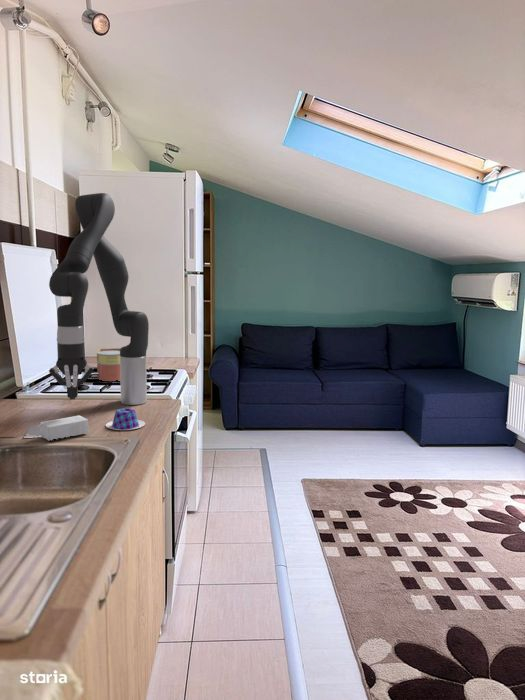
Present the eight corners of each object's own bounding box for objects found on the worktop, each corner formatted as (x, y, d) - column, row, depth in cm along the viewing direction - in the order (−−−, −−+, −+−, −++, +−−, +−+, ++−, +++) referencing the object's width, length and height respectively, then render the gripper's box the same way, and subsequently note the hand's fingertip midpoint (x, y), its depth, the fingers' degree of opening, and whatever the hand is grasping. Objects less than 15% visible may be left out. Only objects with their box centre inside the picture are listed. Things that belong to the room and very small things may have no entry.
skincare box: (80, 428, 166) (40, 436, 158) (79, 414, 165) (39, 421, 157) (89, 433, 162) (48, 441, 154) (88, 419, 161) (47, 426, 153)
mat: (29, 428, 166) (29, 427, 166) (77, 426, 169) (77, 425, 169) (23, 438, 156) (23, 437, 156) (74, 436, 160) (74, 435, 160)
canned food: (128, 377, 242) (128, 350, 241) (119, 383, 231) (119, 355, 230) (104, 376, 244) (103, 350, 242) (94, 381, 232) (93, 354, 231)
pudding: (126, 419, 180) (126, 403, 179) (153, 425, 173) (153, 409, 172) (97, 427, 170) (97, 411, 169) (124, 434, 163) (124, 417, 162)
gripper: (95, 339, 165) (96, 395, 168) (48, 339, 162) (50, 396, 165) (93, 342, 158) (95, 401, 161) (44, 343, 155) (47, 402, 158)
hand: (72, 398), depth 163 cm, fingers closed
